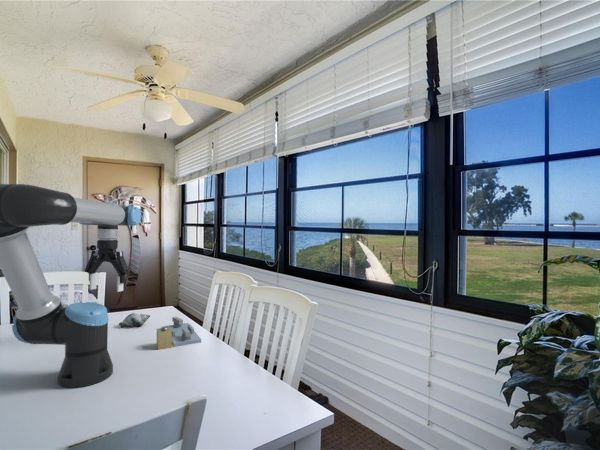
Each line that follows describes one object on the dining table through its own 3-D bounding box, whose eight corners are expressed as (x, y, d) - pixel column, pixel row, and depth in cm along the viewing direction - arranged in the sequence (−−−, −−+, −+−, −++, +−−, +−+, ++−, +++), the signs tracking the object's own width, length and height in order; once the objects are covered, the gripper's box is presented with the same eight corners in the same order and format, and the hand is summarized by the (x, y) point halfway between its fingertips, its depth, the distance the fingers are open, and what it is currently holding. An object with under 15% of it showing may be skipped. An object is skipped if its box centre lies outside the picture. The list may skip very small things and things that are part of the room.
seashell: (125, 327, 164) (149, 328, 163) (116, 325, 157) (141, 326, 156) (129, 314, 166) (151, 315, 165) (120, 312, 160) (144, 312, 159)
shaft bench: (201, 342, 142) (201, 330, 141) (173, 346, 136) (174, 334, 136) (187, 325, 164) (187, 315, 164) (163, 328, 158) (164, 318, 158)
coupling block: (171, 347, 135) (171, 328, 135) (158, 350, 132) (158, 330, 132) (169, 343, 139) (169, 325, 139) (156, 345, 137) (156, 326, 137)
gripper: (139, 239, 141) (138, 290, 140) (90, 238, 146) (89, 286, 146) (126, 240, 133) (124, 293, 133) (75, 238, 139) (74, 289, 139)
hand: (106, 290), depth 140 cm, fingers open, 13 cm apart
